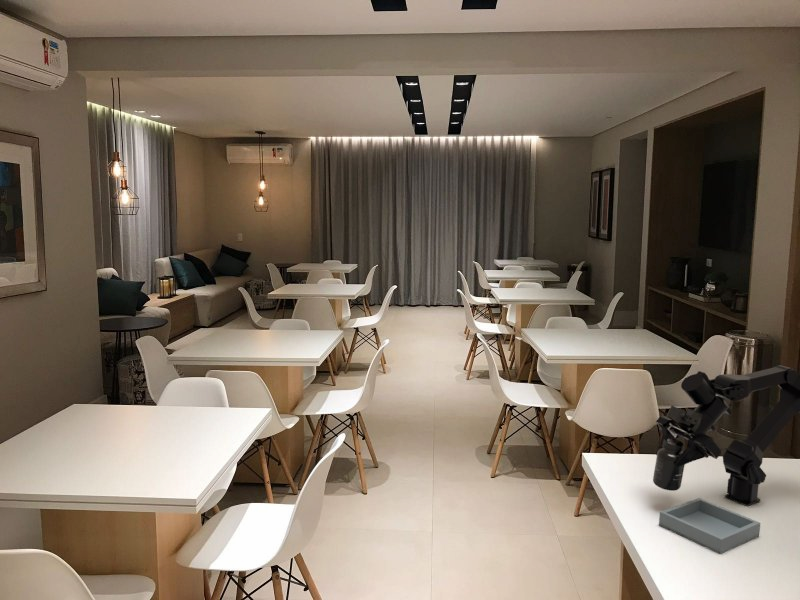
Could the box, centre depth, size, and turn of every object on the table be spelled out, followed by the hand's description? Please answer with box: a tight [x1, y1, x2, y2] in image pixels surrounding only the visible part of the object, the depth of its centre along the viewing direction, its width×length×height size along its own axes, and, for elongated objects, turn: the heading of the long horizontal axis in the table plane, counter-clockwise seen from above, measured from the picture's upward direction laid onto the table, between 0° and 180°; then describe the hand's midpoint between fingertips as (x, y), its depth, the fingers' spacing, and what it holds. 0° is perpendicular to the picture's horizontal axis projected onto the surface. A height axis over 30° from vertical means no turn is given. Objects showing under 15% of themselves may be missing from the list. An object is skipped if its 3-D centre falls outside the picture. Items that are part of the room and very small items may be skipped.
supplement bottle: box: [652, 438, 686, 492], centre depth 173 cm, size 7×7×12 cm
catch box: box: [658, 497, 761, 555], centre depth 163 cm, size 16×16×4 cm
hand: (666, 460), depth 172 cm, fingers closed on supplement bottle, 7 cm apart
